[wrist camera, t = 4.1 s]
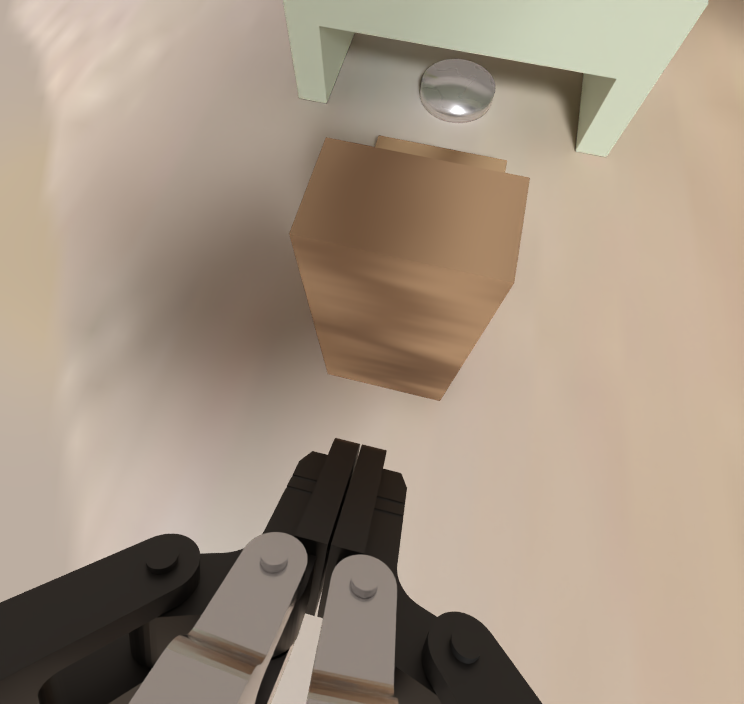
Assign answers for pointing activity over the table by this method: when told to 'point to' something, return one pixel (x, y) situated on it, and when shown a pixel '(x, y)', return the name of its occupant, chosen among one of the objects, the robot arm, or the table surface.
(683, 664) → the table surface
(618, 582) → the table surface
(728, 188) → the table surface
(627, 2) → the pale green bench
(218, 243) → the table surface
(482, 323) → the brown wooden block
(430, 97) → the disc
